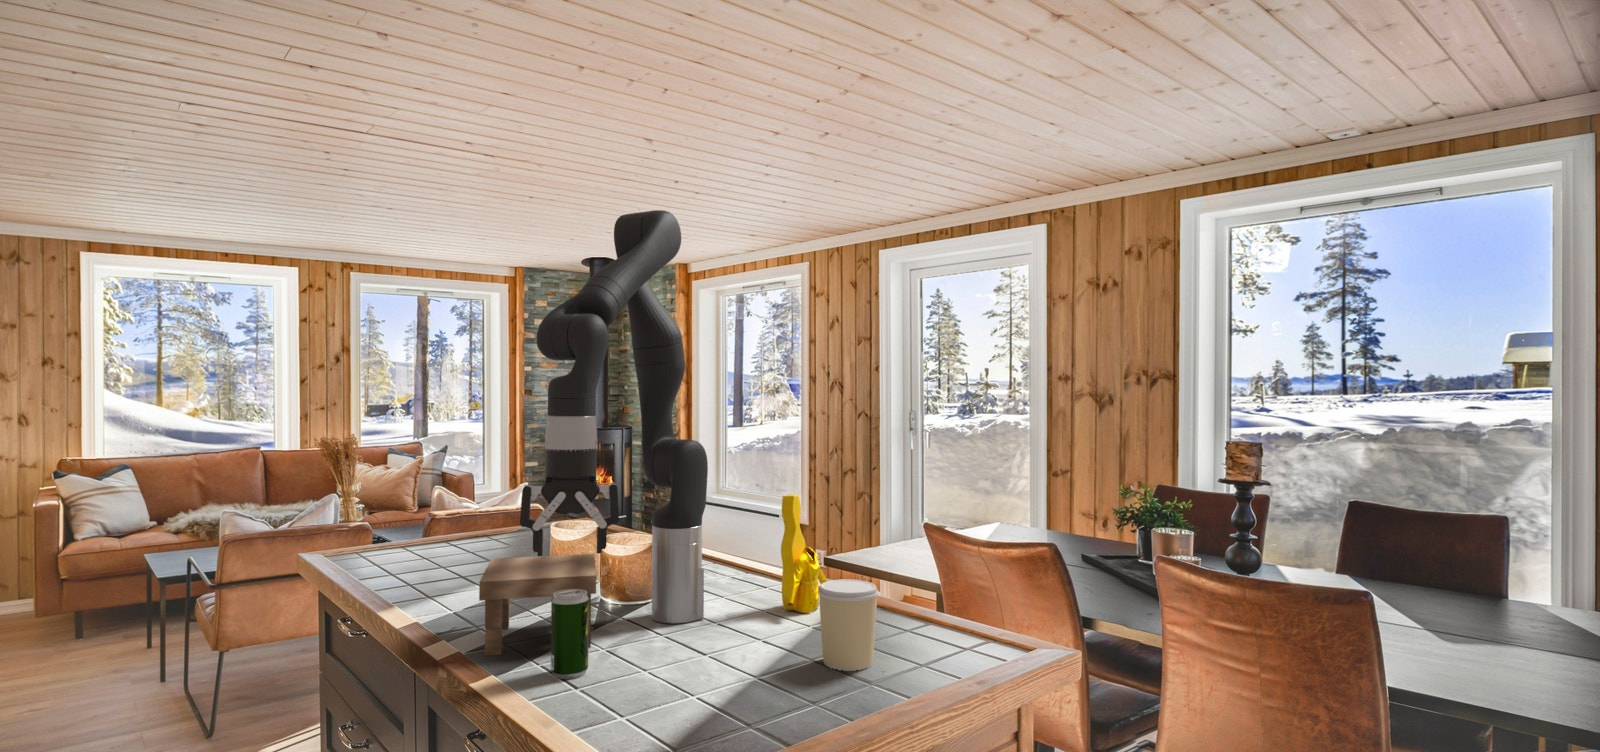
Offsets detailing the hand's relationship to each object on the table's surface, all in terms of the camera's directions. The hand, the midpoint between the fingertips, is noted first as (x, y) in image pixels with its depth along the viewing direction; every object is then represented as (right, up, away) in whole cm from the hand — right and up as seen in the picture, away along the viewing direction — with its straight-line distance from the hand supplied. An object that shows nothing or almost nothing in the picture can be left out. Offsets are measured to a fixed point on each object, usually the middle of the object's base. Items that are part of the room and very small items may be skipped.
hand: (569, 553), depth 123 cm
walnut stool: (-10, -18, +18) cm, 27 cm away
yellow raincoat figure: (+35, -19, +36) cm, 54 cm away
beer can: (0, -18, 0) cm, 18 cm away
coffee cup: (+42, -18, +5) cm, 46 cm away
